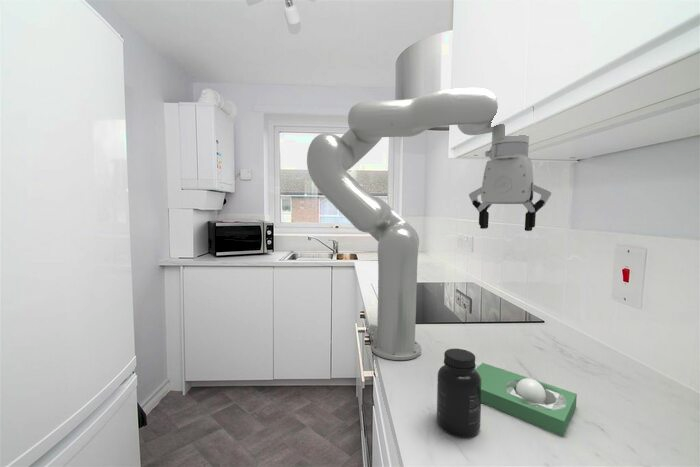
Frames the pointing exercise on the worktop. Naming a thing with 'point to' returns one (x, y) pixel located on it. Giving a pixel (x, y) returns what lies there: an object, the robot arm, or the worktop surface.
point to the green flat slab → (502, 396)
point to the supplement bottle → (459, 394)
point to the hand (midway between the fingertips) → (505, 229)
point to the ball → (531, 391)
